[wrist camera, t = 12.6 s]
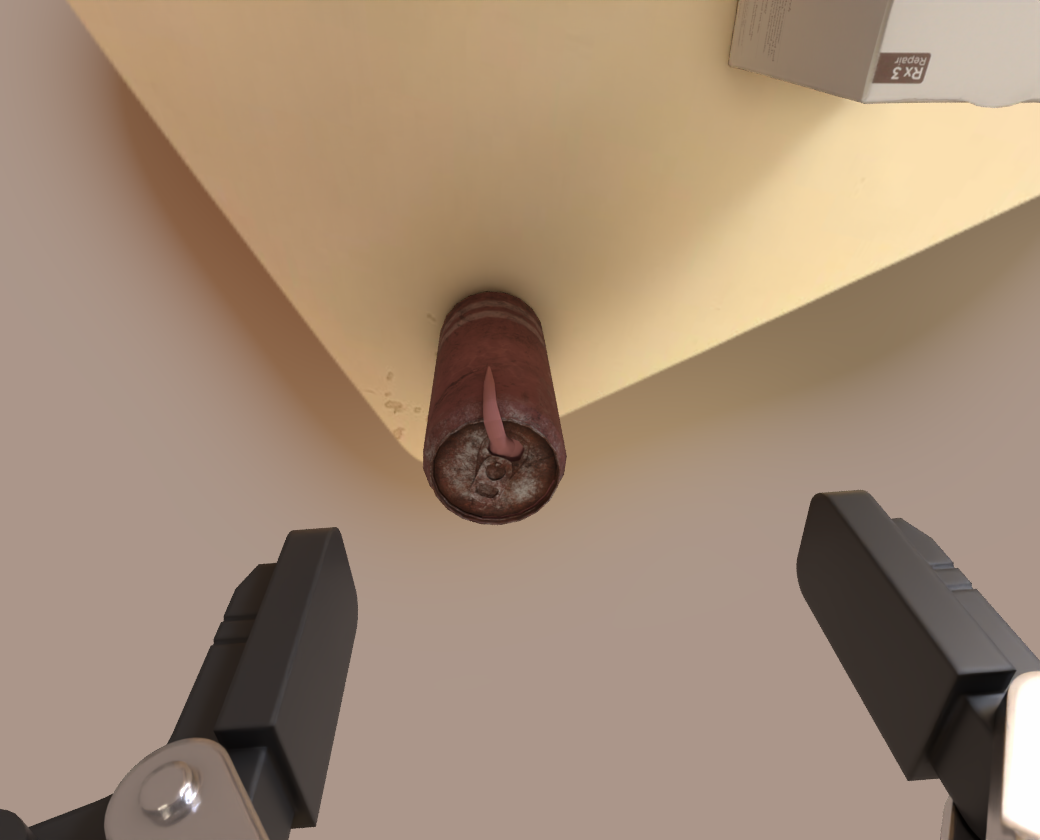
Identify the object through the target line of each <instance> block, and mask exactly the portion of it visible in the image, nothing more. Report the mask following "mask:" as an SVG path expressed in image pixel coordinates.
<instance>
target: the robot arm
mask: <svg viewBox="0 0 1040 840" xmlns="http://www.w3.org/2000/svg"><path fill="white" fill-rule="evenodd" d="M797 578H798V582H799V586H800V589H801V592H802V594H803V596H804V598H805V600H806V602H807V604H808V605H809V607H810V609H811V611H812V612H813V614H814V616H815V618H816V620H817V621H818V623H819V625H820V627H821V628H822V630H823V632H824V634H825V635H826V637H827V639H828V641H829V642H830V644H831V646H832V648H833V650H834V651H835V653H836V655H837V657H838V658H839V660H840V662H841V664H842V665H843V667H844V669H845V671H846V673H847V674H848V676H849V678H850V679H851V681H852V683H853V685H854V687H855V688H856V690H857V692H858V694H859V695H860V697H861V699H862V701H863V702H864V704H865V706H866V708H867V710H868V711H869V713H870V715H871V716H872V718H873V720H874V722H875V724H876V726H877V727H878V729H879V731H880V733H881V734H882V736H883V738H884V739H885V741H886V743H887V745H888V747H889V748H890V750H891V752H892V754H893V756H894V757H895V759H896V761H897V762H898V764H899V766H900V768H901V770H902V771H903V773H904V775H905V777H906V778H907V780H908V781H914V780H926V779H938V778H939V779H940V780H941V782H942V783H943V785H944V787H945V788H946V790H947V792H948V793H949V797H948V799H947V801H946V803H945V806H944V812H943V820H942V828H941V837H940V840H1040V660H1039V659H1038V658H1037V657H1036V656H1035V655H1034V654H1033V652H1031V650H1030V649H1029V648H1028V647H1027V646H1026V645H1025V643H1024V642H1023V641H1022V640H1021V639H1020V638H1019V637H1018V636H1017V634H1016V633H1015V632H1014V631H1013V630H1012V629H1011V628H1010V626H1009V625H1008V624H1007V623H1006V622H1005V621H1004V620H1003V619H1002V617H1001V616H1000V615H999V614H998V613H997V612H996V611H995V609H994V608H993V607H992V606H991V605H990V604H989V603H988V601H986V599H985V598H984V597H983V596H982V595H981V594H980V592H979V591H978V590H977V589H973V588H972V583H971V582H970V581H969V580H968V579H967V578H966V577H965V575H964V574H963V573H962V572H961V571H960V570H959V569H958V568H954V565H953V562H952V561H951V560H950V558H949V557H948V556H947V555H946V554H945V553H944V552H943V550H942V549H941V548H940V547H939V546H938V545H937V544H936V542H935V541H934V540H933V539H932V538H931V537H929V536H928V535H926V534H924V533H923V532H921V531H920V530H918V529H917V528H915V527H914V526H912V525H911V524H909V523H908V522H906V521H904V520H903V519H902V518H895V519H891V518H890V517H889V516H888V515H887V513H886V512H885V511H884V510H883V509H882V508H881V506H880V505H879V504H878V503H877V502H876V500H875V499H874V498H873V497H872V496H871V495H870V494H869V493H868V492H866V491H864V490H854V491H841V492H828V493H818V494H816V495H814V497H813V498H812V500H811V503H810V507H809V511H808V515H807V519H806V524H805V528H804V532H803V536H802V540H801V545H800V549H799V553H798V557H797ZM357 620H358V603H357V594H356V589H355V586H354V581H353V578H352V574H351V570H350V566H349V562H348V558H347V554H346V551H345V547H344V543H343V539H342V536H341V533H340V531H339V529H338V528H336V527H332V528H319V529H306V530H293V531H291V532H289V534H288V536H287V538H286V540H285V543H284V545H283V548H282V551H281V553H280V556H279V558H278V561H277V563H271V564H259V565H258V566H257V567H256V568H255V569H254V570H253V571H252V572H251V573H250V574H249V576H247V577H246V578H245V580H244V581H243V582H242V583H241V584H240V585H239V586H238V587H237V588H236V589H235V592H234V594H233V596H232V598H231V601H230V603H229V605H228V607H227V610H226V612H225V614H224V621H223V622H221V624H220V626H219V628H218V630H217V633H216V635H215V637H214V644H213V645H212V646H211V647H210V649H209V651H208V653H207V656H206V658H205V660H204V663H203V665H202V667H201V669H200V672H199V674H198V676H197V679H196V681H195V683H194V686H193V688H192V690H191V692H190V695H189V697H188V699H187V702H186V704H185V706H184V709H183V711H182V713H181V715H180V718H179V720H178V722H177V724H176V727H175V729H174V731H173V734H172V736H171V738H170V740H169V741H168V743H167V745H165V746H163V747H161V748H159V749H157V750H156V751H154V752H152V753H151V754H149V755H148V756H146V757H145V758H144V759H143V760H141V761H140V762H139V763H138V764H137V765H135V766H134V767H133V769H132V770H130V772H129V773H128V774H127V775H126V776H125V777H124V778H123V780H122V781H121V782H120V784H119V785H118V787H117V788H116V790H115V792H114V793H113V794H111V795H109V796H107V797H105V798H103V799H101V800H98V801H96V802H94V803H91V804H88V805H86V806H83V807H80V808H78V809H75V810H72V811H70V812H67V813H65V814H62V815H59V816H57V817H54V818H51V819H49V820H46V821H44V822H41V823H38V824H36V825H33V826H31V827H27V826H26V824H25V823H24V822H23V821H22V820H21V819H20V818H19V817H18V816H17V815H16V814H15V813H12V812H10V811H8V810H2V809H0V840H288V838H289V834H290V830H291V829H293V828H305V827H316V823H317V818H318V813H319V808H320V804H321V799H322V794H323V789H324V784H325V779H326V775H327V770H328V765H329V760H330V755H331V750H332V745H333V741H334V736H335V731H336V726H337V721H338V716H339V712H340V707H341V702H342V697H343V692H344V687H345V682H346V677H347V673H348V668H349V663H350V658H351V653H352V648H353V643H354V639H355V634H356V629H357Z"/></svg>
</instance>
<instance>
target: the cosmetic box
mask: <svg viewBox="0 0 1040 840" xmlns="http://www.w3.org/2000/svg"><path fill="white" fill-rule="evenodd" d="M729 66H730V67H736V68H739V69H743V70H747V71H751V72H754V73H757V74H761V75H765V76H768V77H771V78H775V79H779V80H782V81H786V82H790V83H793V84H797V85H800V86H804V87H808V88H811V89H815V90H818V91H821V92H825V93H828V94H831V95H835V96H838V97H842V98H847V99H850V100H854V101H857V102H861V103H863V104H873V103H931V102H968V103H971V104H974V105H976V106H981V107H990V108H999V107H1007V106H1012V105H1015V104H1018V103H1029V102H1036V103H1040V0H739V2H738V8H737V14H736V20H735V26H734V32H733V38H732V45H731V50H730V56H729Z"/></svg>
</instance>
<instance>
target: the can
mask: <svg viewBox="0 0 1040 840" xmlns="http://www.w3.org/2000/svg"><path fill="white" fill-rule="evenodd" d="M566 457H567V456H566V450H565V445H564V440H563V435H562V429H561V424H560V419H559V414H558V408H557V403H556V398H555V393H554V387H553V382H552V377H551V372H550V366H549V361H548V356H547V351H546V345H545V340H544V335H543V331H542V326H541V322H540V320H539V319H538V317H537V316H536V314H535V313H534V311H533V309H532V308H530V307H529V306H528V305H527V304H526V303H524V302H523V301H522V300H521V299H519V298H517V297H514V296H511V295H509V294H506V293H502V292H483V293H479V294H475V295H471V296H469V297H467V298H466V299H464V300H462V301H461V302H459V303H457V304H456V305H455V306H454V308H453V309H452V310H451V311H450V312H449V313H448V315H447V316H446V318H445V321H444V323H443V326H442V328H441V332H440V339H439V346H438V353H437V360H436V366H435V373H434V380H433V387H432V394H431V401H430V408H429V415H428V422H427V429H426V435H425V442H424V449H423V469H424V472H425V474H426V477H427V480H428V482H429V485H430V487H431V488H432V489H433V490H434V492H435V495H436V497H437V498H438V499H439V500H440V501H441V502H442V504H443V505H444V506H445V507H446V508H447V509H448V510H449V511H451V512H453V513H455V514H456V515H458V516H459V517H461V518H463V519H465V520H469V521H472V522H476V523H479V524H491V525H502V524H507V523H512V522H517V521H521V520H523V519H525V518H527V517H529V516H531V515H533V514H534V513H536V512H538V511H539V510H540V509H541V508H542V507H543V506H544V505H545V504H546V503H548V502H549V501H550V499H551V498H552V496H553V494H554V492H555V490H556V488H557V487H558V484H559V482H560V481H561V479H562V477H563V475H564V471H565V464H566Z"/></svg>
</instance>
